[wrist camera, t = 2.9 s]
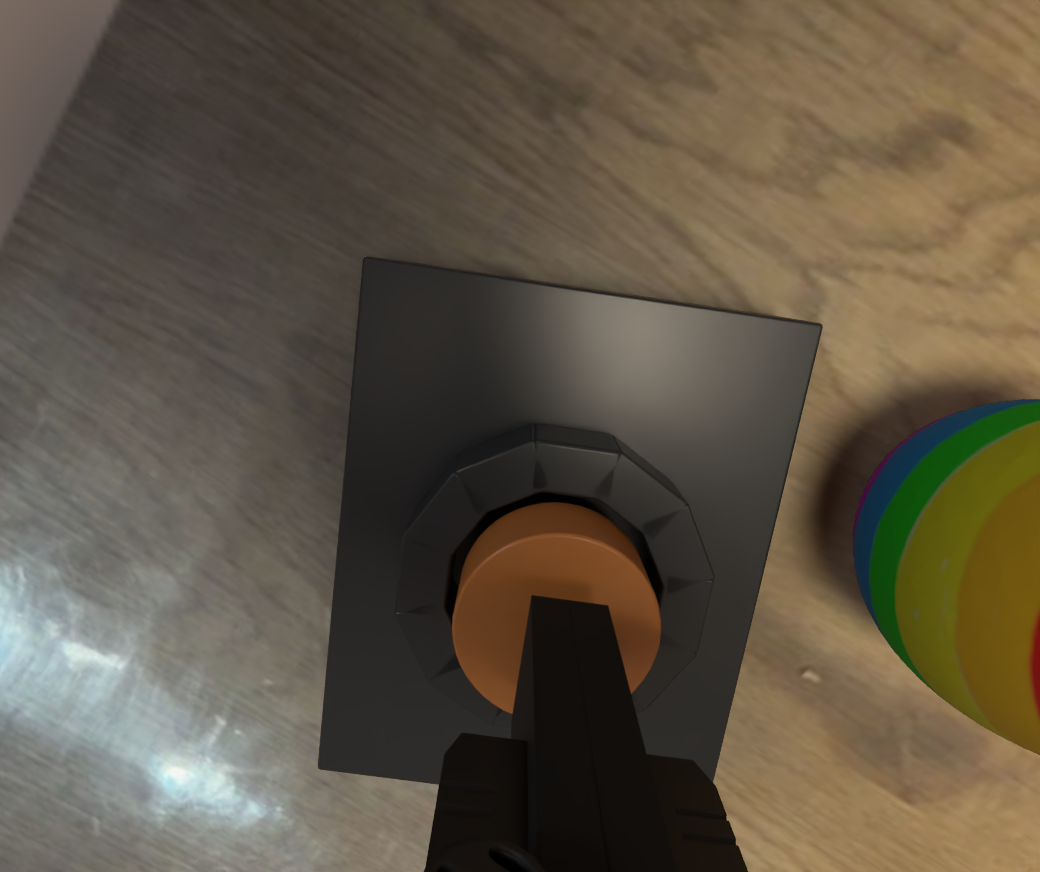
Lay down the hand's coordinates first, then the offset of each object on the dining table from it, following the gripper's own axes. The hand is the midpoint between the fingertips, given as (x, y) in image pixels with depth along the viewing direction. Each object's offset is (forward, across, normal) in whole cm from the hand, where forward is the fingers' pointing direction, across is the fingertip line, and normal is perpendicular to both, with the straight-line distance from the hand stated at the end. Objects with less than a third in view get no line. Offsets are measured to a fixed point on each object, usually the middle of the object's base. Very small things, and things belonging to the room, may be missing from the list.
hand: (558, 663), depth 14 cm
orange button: (+3, 0, 0) cm, 3 cm away
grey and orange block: (+8, 0, 0) cm, 8 cm away
